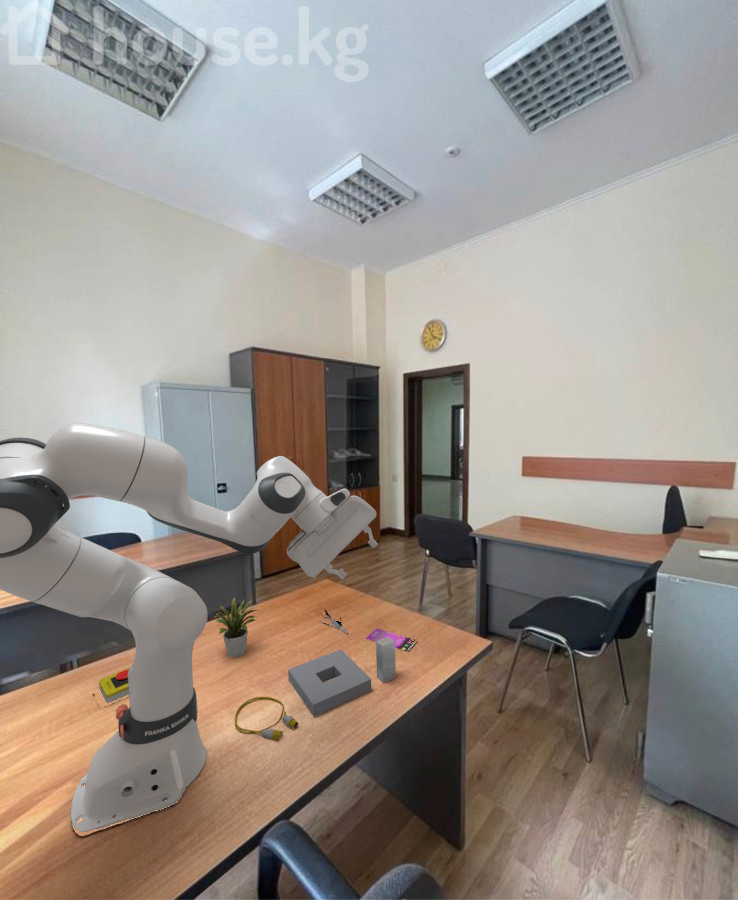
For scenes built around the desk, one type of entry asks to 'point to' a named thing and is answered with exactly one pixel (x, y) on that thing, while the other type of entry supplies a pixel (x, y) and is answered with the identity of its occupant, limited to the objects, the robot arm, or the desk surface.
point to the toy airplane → (335, 623)
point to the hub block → (328, 682)
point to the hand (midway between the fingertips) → (360, 561)
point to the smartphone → (399, 644)
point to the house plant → (235, 628)
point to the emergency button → (115, 686)
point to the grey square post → (385, 659)
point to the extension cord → (270, 732)
